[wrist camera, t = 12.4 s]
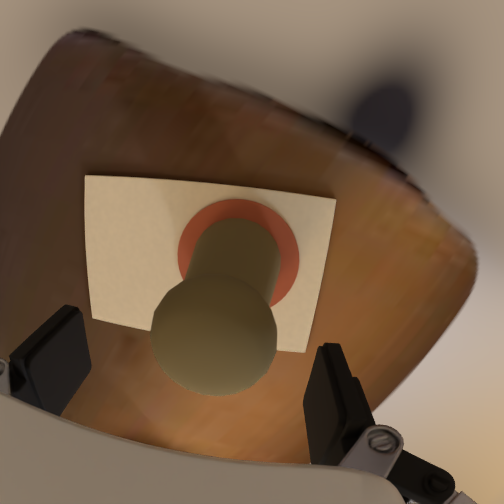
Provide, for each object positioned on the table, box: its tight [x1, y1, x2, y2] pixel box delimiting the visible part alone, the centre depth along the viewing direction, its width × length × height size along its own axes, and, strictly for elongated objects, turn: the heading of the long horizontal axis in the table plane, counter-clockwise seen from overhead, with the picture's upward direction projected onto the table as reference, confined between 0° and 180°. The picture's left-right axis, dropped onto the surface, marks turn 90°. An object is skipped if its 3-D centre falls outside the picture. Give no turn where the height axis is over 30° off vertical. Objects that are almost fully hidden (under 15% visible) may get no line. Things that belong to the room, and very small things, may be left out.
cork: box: [150, 218, 281, 396], centre depth 16 cm, size 6×6×11 cm
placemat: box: [85, 175, 336, 353], centre depth 22 cm, size 18×12×1 cm, turn 84°
